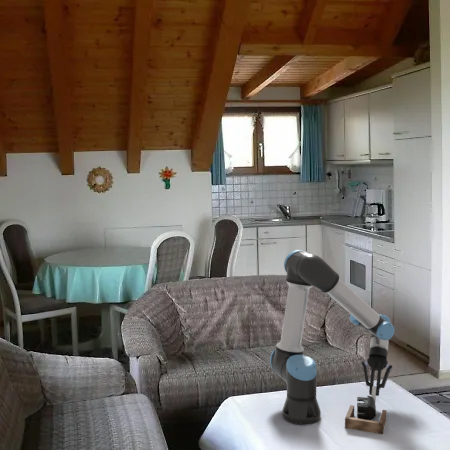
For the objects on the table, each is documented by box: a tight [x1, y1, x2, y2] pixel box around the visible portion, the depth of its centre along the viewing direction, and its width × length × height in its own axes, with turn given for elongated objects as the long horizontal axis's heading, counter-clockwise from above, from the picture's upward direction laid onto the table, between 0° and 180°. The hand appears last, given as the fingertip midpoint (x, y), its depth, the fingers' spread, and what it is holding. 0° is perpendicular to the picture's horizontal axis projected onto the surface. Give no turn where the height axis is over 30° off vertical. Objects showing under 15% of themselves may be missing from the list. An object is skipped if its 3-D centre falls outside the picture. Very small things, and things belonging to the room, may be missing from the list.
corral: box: [344, 404, 387, 435], centre depth 222 cm, size 14×12×4 cm
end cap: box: [356, 394, 377, 421], centre depth 228 cm, size 10×7×7 cm
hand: (373, 402), depth 234 cm, fingers closed
